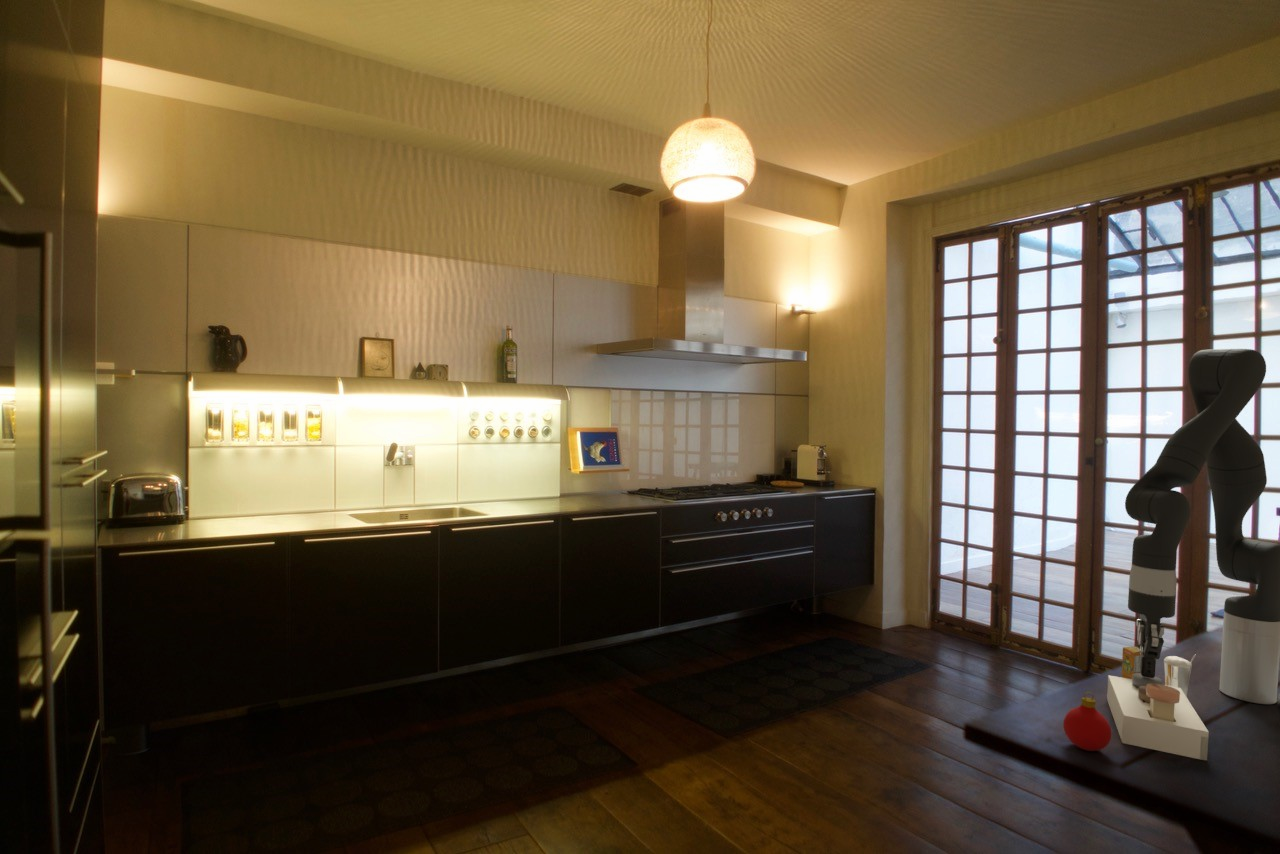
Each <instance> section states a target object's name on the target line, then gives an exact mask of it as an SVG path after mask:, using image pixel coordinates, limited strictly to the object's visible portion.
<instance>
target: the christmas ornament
mask: <svg viewBox="0 0 1280 854" xmlns="http://www.w3.org/2000/svg"><path fill="white" fill-rule="evenodd" d="M1089 693H1090V694H1091V696H1092V697H1086V695H1088V694H1089ZM1096 702H1097V701H1096V700H1095V699H1094V694H1093V692H1090V691H1087V692H1085V693H1084V696H1083V697H1081V704H1080V705H1079V706H1077V707H1074V708H1071V709H1070V710H1069V711H1068V712H1067V713H1066V714H1065V716H1064V719H1063V730H1064V732H1065V735H1066V737H1067V738H1068V739H1069V741H1070V742H1071V743H1072V744H1073V745H1075V746H1076V747H1077V748H1079V749H1082V750H1084V751H1090V752H1095V751H1096V752H1097V751H1101V750H1103V749H1104V748H1106V747H1107V746H1108V745H1109V743H1110V742H1111V739H1112V728H1111V726H1110V723H1109V721H1108V720H1107V718H1106V717H1105V715H1103V714H1102V713H1101V712H1100V711H1099V710H1097V709H1096V708H1097V707H1096Z"/></svg>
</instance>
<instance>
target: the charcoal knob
mask: <svg viewBox="0 0 1280 854" xmlns="http://www.w3.org/2000/svg"><path fill="white" fill-rule="evenodd" d="M1132 684H1133V685H1135V686H1136V688H1137V689H1139V687H1140V686H1146V685H1147V684H1161V685H1163V679H1161V678H1160V677H1158V676H1155V677H1154V678H1149V677H1143V676H1142V675H1141V673H1134V674H1133V675H1132Z"/></svg>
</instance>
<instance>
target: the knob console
mask: <svg viewBox="0 0 1280 854" xmlns="http://www.w3.org/2000/svg"><path fill="white" fill-rule="evenodd" d="M1166 686H1167V685H1166ZM1169 687H1172V688H1175V689H1177V690H1178V691H1179V692H1180V700H1179V703H1175V706H1174V722H1171V721H1166V720H1161V719H1156V718H1151V717H1150V716H1149V714H1150V703H1145V702H1143V701H1142V699H1140V698H1139V697H1138V690H1139V689H1137V688H1136V686H1135V685H1133V684H1132V679H1127V678H1122V676H1116V675H1109V674H1108V675H1107V690H1106V692H1107V693H1106V700H1107V704H1108V707H1109V709H1110V711H1111V715H1112V717H1113V721H1114V724H1115V726H1116V729H1117V732H1118V735H1119V737H1120V740H1121V743H1122V744H1125V745H1129V746H1130V745H1131V746H1135V747H1139V748H1145V749H1149V750H1153V751H1154V750H1155V751H1159V752H1164V753H1168V754H1173V755H1177V756H1183V757H1187V758H1191V759H1197V760H1200V761H1201V760H1202V761H1206V762H1207V761H1208V749H1209V747H1208V746H1209V733H1210V732H1209V730H1208V729H1207V727H1206V726H1205V724H1204V722H1203V721H1202V719H1201V717H1200V716H1199V714H1198V713H1197V711H1196V710H1195V708H1194V707H1193V705H1192V704H1191V701H1190V700H1189V699H1188V697H1187V696H1185V694H1184V693H1183V691H1182V689H1181V688H1179V687H1173V686H1169Z"/></svg>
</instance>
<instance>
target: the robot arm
mask: <svg viewBox="0 0 1280 854" xmlns="http://www.w3.org/2000/svg"><path fill="white" fill-rule="evenodd" d="M1266 374H1267V364H1266V360H1265V358H1264V356H1263V355H1262V353H1260V352H1259V351H1257V350H1255V349H1251V348H1250V349H1249V348H1218V349H1213V348H1212V349H1201V350H1198V351H1197V352H1195V353H1194V354H1193V355H1192V356H1191V358H1190V360H1189V363H1188V370H1187V375H1188V376H1187V377H1188V383H1189V387H1190V388H1189V389H1190V391H1191V396H1192V400H1193V402H1194V406H1195V410H1196V412H1197V415H1196V416H1194V417H1192V418H1191V419H1190V420H1189V421H1187V422H1186V423H1184V424H1183V425H1181V426H1180V427H1179V428H1178V429H1177V430H1175V432H1174V433H1172V435H1171V436H1170V437H1169V439H1168V440H1167V441H1166V443H1165V445H1164V447H1163V449H1162V451H1160V452H1161V453H1160V454H1159V456H1158V458H1157V460H1156V461H1155V464H1153V466H1152V467H1151V468H1150V469H1149V470H1147V471H1146V473H1144V474H1143V476H1141V478H1140V479H1139V480H1137V482H1135V483H1134V485H1133V486H1132V487H1131V488H1130V490H1129V491H1128V492H1127V495H1126V497H1125V501H1124V503H1125V505H1124V507H1125V512H1126V514H1127V515H1128V517H1130V518H1131V519H1132V520H1134V521H1137V522H1142V523H1147V524H1153V525H1154V526H1155V527H1154V529H1153V531H1152V533H1151V534H1140V535H1137V536H1135V537H1134V539H1133V542H1132V552H1131V553H1132V554H1131V556H1132V557H1131V567H1130V571H1129V580H1128V594H1127V595H1128V597H1127V599H1128V600H1127V608H1128V610H1129V611H1131V612H1132V613H1134V614H1138V615H1140V617H1139V618H1140V619H1139V618H1138V619H1136V627H1137V635H1136V636H1137V637H1136V638H1137V642H1138V644H1137V648H1139V649H1140V650H1139V653H1140V655H1141V664H1140V673H1141V675H1142V676H1143V677H1149V678H1154V677H1156V664H1157V663H1156V662H1157V660H1160V658H1161V653H1162V650H1163V646H1164V643H1165V640H1164V637H1163V636H1164V634H1165V626H1164V625H1163V624H1162V622H1161V619H1168V618H1174V617H1175V615H1176V602H1177V601H1176V600H1177V585H1178V583H1177V582H1178V581H1177V580H1178V579H1177V572H1176V571H1177V570H1176V569H1177V556H1178V555H1177V553H1178V552H1177V551H1178V547H1179V545H1180V543H1181V539H1182V538H1183V535H1184V533H1185V530H1186V527H1187V525H1188V522H1189V520H1190V517H1191V504H1190V502H1189V500H1188V498H1187V497H1186V495H1185V494H1184V493H1182V492H1181V491H1177V490H1174V489H1175V488H1179V487H1180V488H1181V487H1187V486H1191V485H1192V484H1193V483H1195V482H1196V480H1197V479H1198V477H1199V475H1200V473H1201V471H1202V468H1203V467H1204V465H1205V464H1206V470H1207V476H1208V481H1209V487H1210V491H1211V493H1210V494H1211V497H1212V498H1211V499H1212V505H1213V513H1214V526H1215V527H1214V528H1215V552H1216V553H1215V554H1216V561H1217V566H1218V570H1219V572H1220V573H1221V574H1222V576H1224V577H1225V578H1228V579H1229V580H1234V581H1239V582H1244V583H1249V584H1252V585H1257V587H1256V590H1255V592H1254V593H1253V594H1250V595H1239V596H1230V597H1227V598H1226V599H1225V601H1224V606H1223V610H1224V611H1223V623H1222V624H1223V625H1222V627H1223V628H1222V640H1221V656H1220V671H1219V688H1218V689H1219V691H1220V692H1222V693H1223V694H1225V695H1226V696H1228V697H1231V698H1234V699H1236V700H1240V701H1244V702H1249V703H1254V704H1258V705H1259V704H1260V705H1274V704H1276V703H1277V699H1278V684H1279V671H1280V670H1279V669H1280V543H1276V542H1270V541H1264V540H1259V539H1252V538H1245V537H1244V535H1243V534H1244V533H1243V522H1244V521H1243V520H1244V517H1245V516H1246V515H1247V514H1248V512H1249V510H1250V508H1252V506H1253V505H1254V504H1255V503H1256V502H1257V500H1258V499H1259V498H1260V496H1261V495H1262V493H1263V492H1264V490H1265V488H1266V486H1267V484H1268V483H1267V482H1268V481H1267V480H1268V478H1267V469H1266V463H1265V457H1264V453H1263V451H1262V449H1261V447H1260V446H1259V444H1258V443H1257V441H1256V440H1255V439H1254V437H1253V436H1252V435H1251V434H1250V433H1249V432H1248V431H1247V430H1246V429H1245V428H1244V426H1242V425H1241V424H1240V422H1239V421H1238V420H1237V417H1238V416H1239V415H1240V414H1241V412H1242V411H1243V409H1245V407H1246V406H1247V405H1248V404H1249V402H1250V401H1251V399H1252V398H1253V397H1254V396H1255V394H1256V393H1257V392H1258V390H1259V389H1260V388H1261V386H1262V384H1263V381H1264V380H1265V378H1266Z"/></svg>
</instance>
